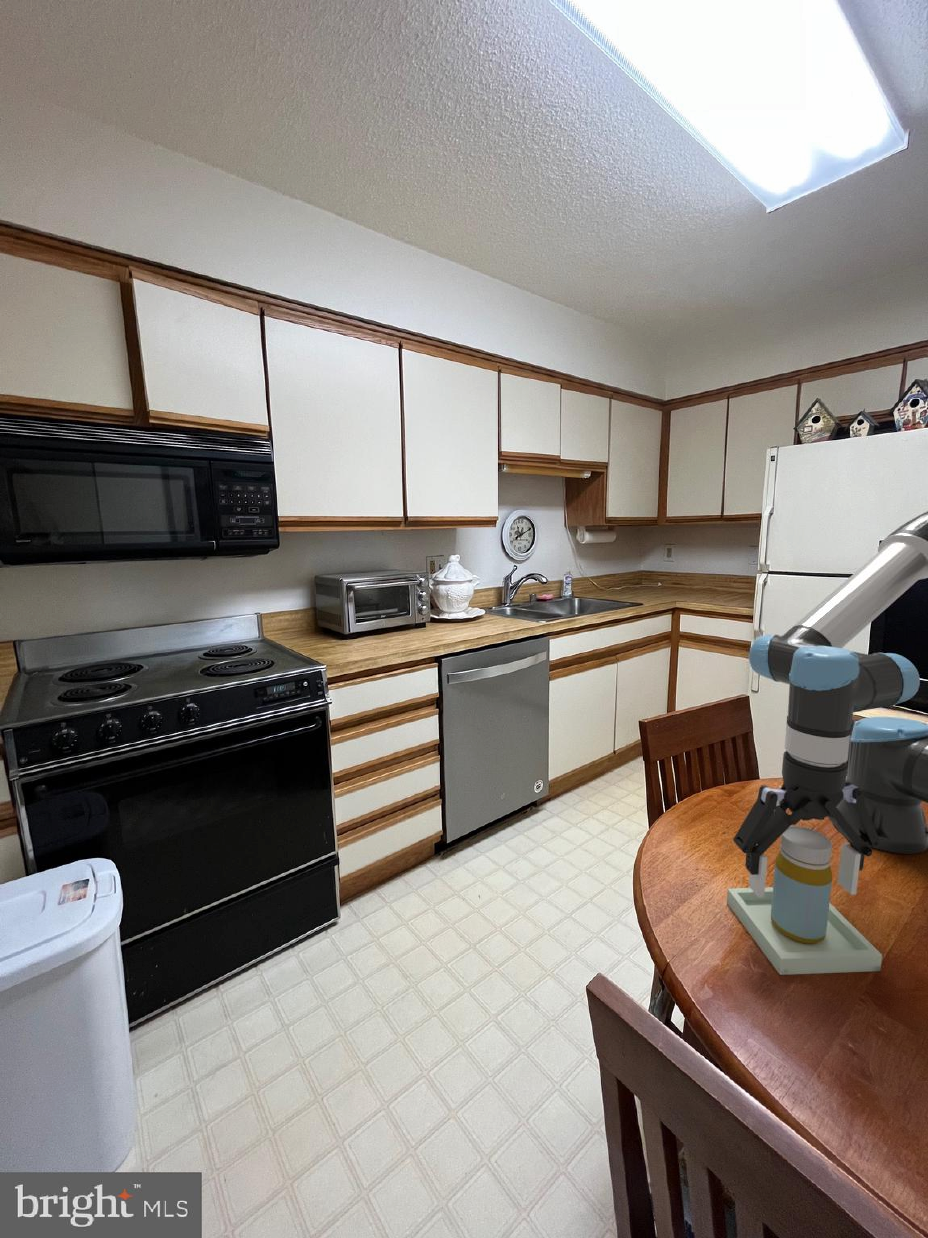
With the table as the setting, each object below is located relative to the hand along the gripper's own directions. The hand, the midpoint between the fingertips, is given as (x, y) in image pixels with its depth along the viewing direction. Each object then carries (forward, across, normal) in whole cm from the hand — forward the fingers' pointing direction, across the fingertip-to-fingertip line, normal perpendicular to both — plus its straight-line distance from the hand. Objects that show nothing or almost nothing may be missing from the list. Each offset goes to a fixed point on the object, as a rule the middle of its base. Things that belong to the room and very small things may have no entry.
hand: (801, 890), depth 77 cm
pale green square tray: (+7, 0, 0) cm, 7 cm away
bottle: (+7, 0, 0) cm, 7 cm away
